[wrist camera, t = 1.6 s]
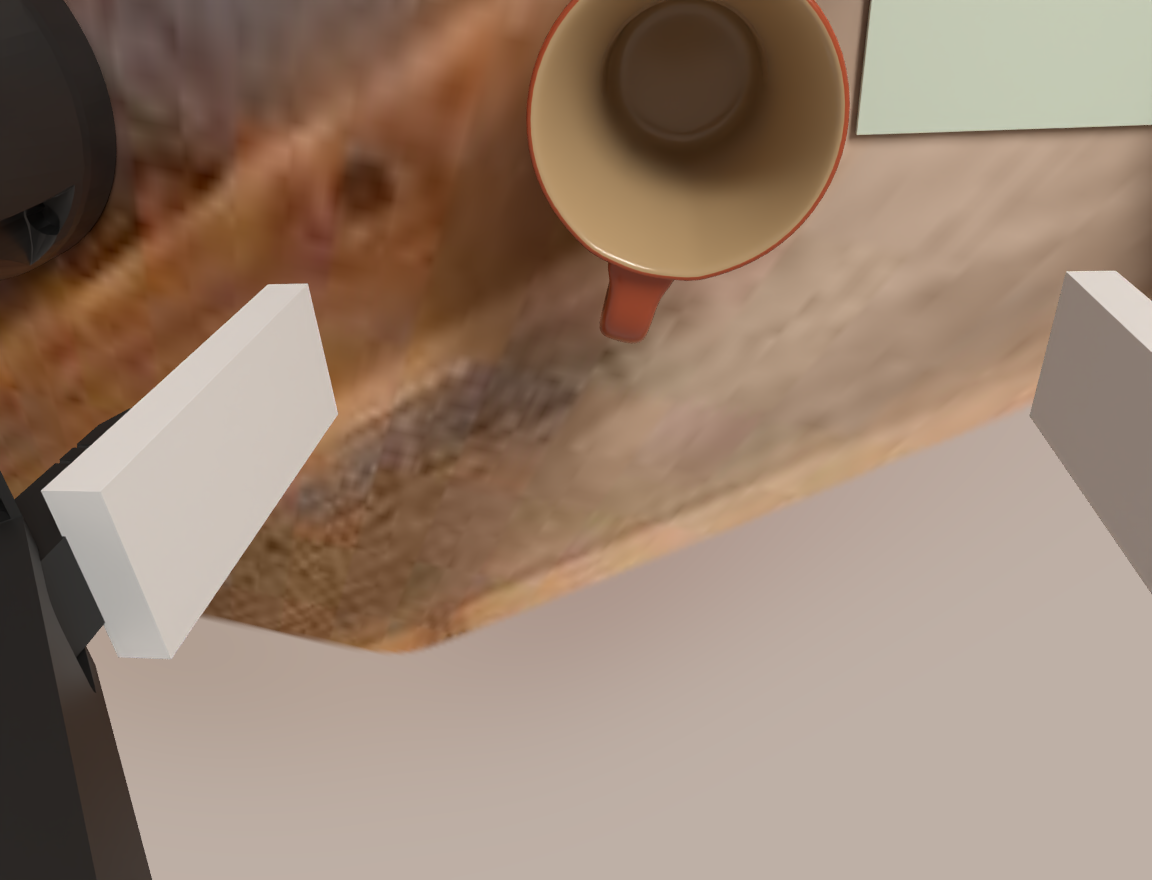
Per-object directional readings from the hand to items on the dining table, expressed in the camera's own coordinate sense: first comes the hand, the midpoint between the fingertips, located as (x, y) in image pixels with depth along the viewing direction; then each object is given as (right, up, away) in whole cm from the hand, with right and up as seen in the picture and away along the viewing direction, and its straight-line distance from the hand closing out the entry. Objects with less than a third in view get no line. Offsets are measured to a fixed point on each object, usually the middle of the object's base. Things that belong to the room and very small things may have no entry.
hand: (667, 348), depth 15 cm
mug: (+2, +11, +18) cm, 21 cm away
